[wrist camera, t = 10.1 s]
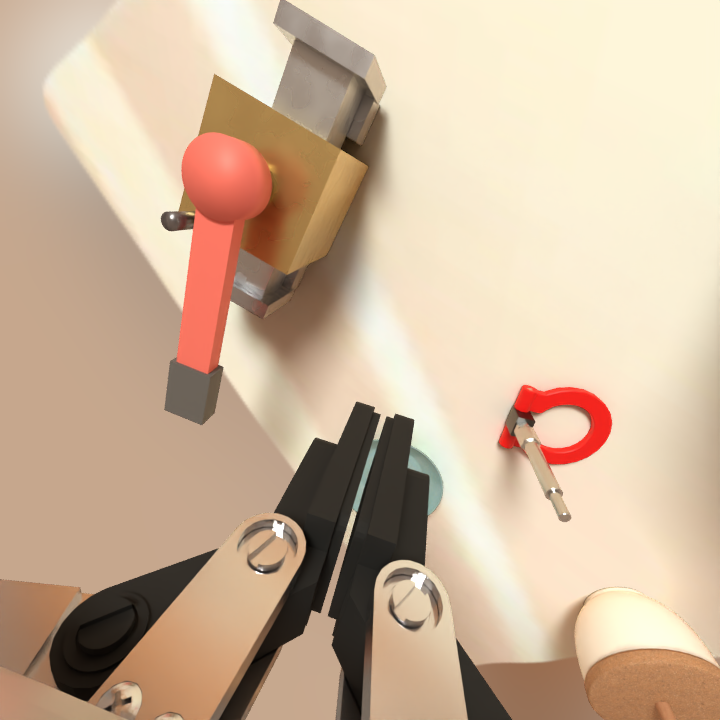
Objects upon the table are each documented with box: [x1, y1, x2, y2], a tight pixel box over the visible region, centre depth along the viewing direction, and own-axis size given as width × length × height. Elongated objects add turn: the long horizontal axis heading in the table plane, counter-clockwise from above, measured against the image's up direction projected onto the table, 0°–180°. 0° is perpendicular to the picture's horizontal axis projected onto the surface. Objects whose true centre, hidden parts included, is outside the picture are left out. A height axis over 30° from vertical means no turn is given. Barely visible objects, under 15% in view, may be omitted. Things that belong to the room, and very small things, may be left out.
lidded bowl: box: [575, 587, 720, 720], centre depth 38 cm, size 13×13×11 cm
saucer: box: [352, 440, 443, 516], centre depth 40 cm, size 12×12×2 cm
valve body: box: [161, 0, 387, 319], centre depth 25 cm, size 18×8×14 cm, turn 152°
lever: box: [165, 132, 272, 425], centre depth 22 cm, size 18×4×2 cm, turn 160°
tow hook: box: [499, 385, 612, 522], centre depth 29 cm, size 8×13×9 cm
